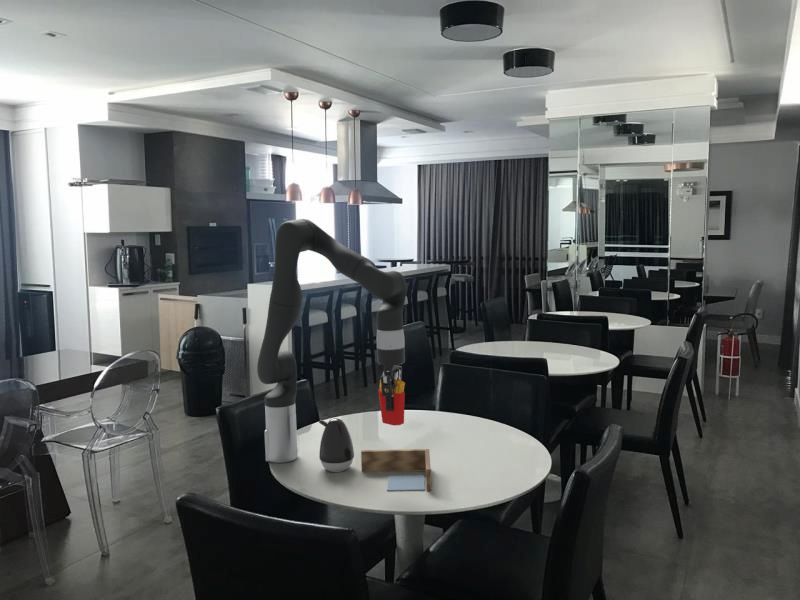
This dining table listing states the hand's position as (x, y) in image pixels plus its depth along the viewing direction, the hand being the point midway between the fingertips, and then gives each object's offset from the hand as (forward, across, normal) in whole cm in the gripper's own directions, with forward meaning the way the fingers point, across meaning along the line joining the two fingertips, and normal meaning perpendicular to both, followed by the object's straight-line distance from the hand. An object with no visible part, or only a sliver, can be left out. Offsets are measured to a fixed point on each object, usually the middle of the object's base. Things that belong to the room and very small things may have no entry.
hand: (392, 407), depth 179 cm
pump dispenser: (+22, +8, +20) cm, 30 cm away
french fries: (+4, 0, 0) cm, 4 cm away
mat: (+22, +1, -3) cm, 22 cm away
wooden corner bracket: (+22, +3, +1) cm, 22 cm away
